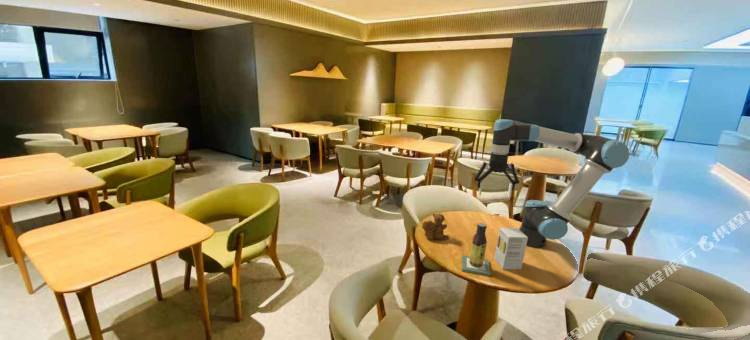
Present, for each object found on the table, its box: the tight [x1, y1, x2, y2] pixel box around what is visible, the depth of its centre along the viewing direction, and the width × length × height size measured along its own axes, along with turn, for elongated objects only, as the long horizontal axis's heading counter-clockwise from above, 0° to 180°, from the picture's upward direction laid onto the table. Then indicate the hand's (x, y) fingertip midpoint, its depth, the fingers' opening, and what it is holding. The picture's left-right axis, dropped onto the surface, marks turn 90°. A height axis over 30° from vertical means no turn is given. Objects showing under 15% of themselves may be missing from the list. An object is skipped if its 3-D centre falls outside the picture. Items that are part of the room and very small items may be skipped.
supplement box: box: [494, 227, 528, 270], centre depth 144 cm, size 10×9×17 cm
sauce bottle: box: [469, 222, 488, 267], centre depth 140 cm, size 7×6×20 cm
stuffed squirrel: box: [421, 212, 450, 241], centre depth 167 cm, size 10×14×13 cm
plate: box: [461, 254, 491, 277], centre depth 143 cm, size 12×12×1 cm
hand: (494, 195), depth 149 cm, fingers open, 13 cm apart
